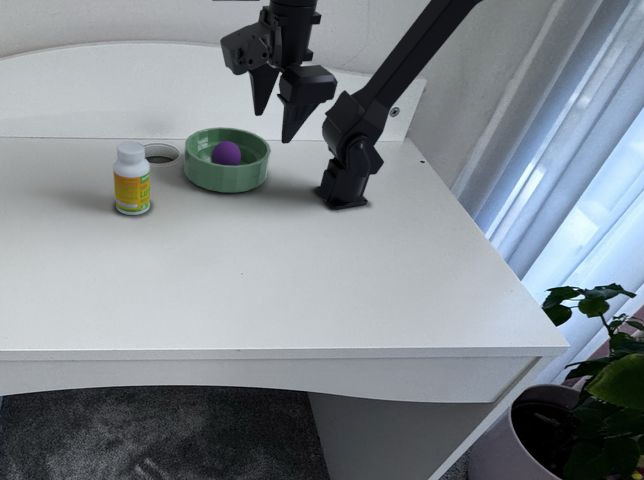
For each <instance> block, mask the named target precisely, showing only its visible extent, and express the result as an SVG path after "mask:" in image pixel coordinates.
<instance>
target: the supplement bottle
mask: <svg viewBox="0 0 644 480" xmlns="http://www.w3.org/2000/svg"><path fill="white" fill-rule="evenodd" d="M116 156H117V158H116V159H115V160H114V162H113V183H114V185H113V186H114V199H115V200H114V201H115V202H114V203H115V207H116V209H117V211H118V212H120V213H122V214H124V215H127V216H138V215H142V214H144V213H147V212H148V210H149V209H150V207H151V167H150V163H149V161H148V159H147V158H145V157H146V147H145V145H144V144H143V143H141V142H139V141H134V140H126V141H123V142H120V143H118V144H117V146H116Z"/></svg>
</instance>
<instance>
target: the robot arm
mask: <svg viewBox="0 0 644 480" xmlns="http://www.w3.org/2000/svg"><path fill="white" fill-rule="evenodd" d="M211 1H212V2H260V1H261V0H211ZM318 1H319V0H269V4H268V5H262V8H261V9H260V10H259V15H258V20H257V22H254V23H252V24H248V25H245V26H243V27H241V28H239V29H237V30H235V31H232V32H230V33H229V34H227V35H225V36H222V37H221V39H220V40H219V43H220V47H221V52H222V57H223V63H224V66H225V67H226V68H228V69H229V70H230V71H231V73H232V74H233V75H234V76H242V75H245V74H246V73H248V75H249V82H250V89H251V96H252V97H251V98H252V104H253V112H254V115H255V116H256V117H262V116H263V115H264V112H265V110H266V109H267V108H266V107H267V105H268V103H269V100H270V98H271V96H272V93H273V91H274V88H275V85H276V83H277V80H278V78H279V80H278V89H279V90H278V91H279V93H276V98H278V99H279V101H280V102H281V104H282V105H283V111H282V124H281V140H280V142H281V144H283V145H285V144H290V142H291V141H292V140H293V138H294V137H295V136H296V134H298V132H299V130H300V129H301V128H302V126H303V125H304V124H305V123H306V121H307V120H308V119H309V118H310V116H311V115H312V114H313V113H314V112H315V111H316V110H317V108H318V107H319V106H320V105H321V104H325V103H327V101H333V100H334V98H335V95H336V92H337V87H338V83H339V81H338V80H337V78H336V76H335V74H333V73H332V72H330V71H329V70H328V69H326V68H325V67H324V66H322V65H321V64H313V65H303V63H305V62H312V61H313V58H314V53H315V52H314V51H313V50H311V49H310V48H309V44H310V41H311V35H312V30H313V26H315V25H321V20H322V16H323V15H322V14H321V13H319V12H318V11H316V10H317V5H318ZM483 1H484V0H430V1H428V3H427V5H426V6H425V7H424V8H423V10H422V11H421V12H420V14H419V15H418V16H417V18H416V19H415V20H414V22H413V23H412V25H411V26H409V28H408V29H407V31H406V32H405V33H404V35H403V36H402V37H401V39H399V41H398V43H397V44H396V45H395V46H394V47H393V49H392V50H391V52H390V53H389V54H387V56H386V58H385V59H384V60H383V62H382V63H381V64H380V65H379V67H378V68H377V69H376V71H375V72H374V74H373V75H371V77H370V79H369V80H368V81H367V82H366V84H365V85H364V86H363V87H361V88H360V89H358V90H356V91H355V92H354V93H352V94H350V93H349V92H348V91H347V90H346V89H345V90H342V92H341V93H340V94H339V95H338V97H337V99H336V101H335V102H334V103H333V105H332V106H331V107H330V108H329V109H328V110H326V111H325V112H324V115H325V119H324V121H323V122H322V124H321V136H322V139H323V141H324V142H325V143H326V144H327V150H328V151H329V152H330V153H331V154H332V156H333V157H332V158H329V160H328V162H327V167H326V169H324V171H323V174H322V177H321V181H320V184H319V186H315V189H314V191H315V192H316V193H317V194H318V195H319V196H320V197H321V198H322V199H323V201H325V202H326V203H327V204H328V205H329V207H331V209H333V210H340V209H341V210H342V209H346V208H352V207H358V206H365V205H368V203H369V200H368V199H367V198H366V197H365V196H364V194H365V191H366V188H367V185H368V182H369V179H370V176H374V175H377V174H378V173H379V171H380V169H382V167H383V165H384V164H385V161H384V159H383V158H382V156H381V155H380V153H379V152H378V150H377V149H376V147H375V146H376V144H377V142H378V141H379V139H380V137H382V135H383V133H384V131H385V127H386V123H387V121H388V117H389V115H390V111H391V109H392V108H393V106H394V105H395V104H396V103H397V101H398V100H399V99H400V98H401V96H402V95H403V94H404V93H405V92H406V91H407V89H408V88H409V87H410V86H411V85H412V83H413V82H414V81H415V79H417V77H418V76H419V75H420V73H421V72H422V71H423V70H424V68H425V67H426V66H427V65H428V64H429V63H430V61H431V60H432V59H433V58H434V56H435V55H436V54H437V53H438V52H439V50H440V49H441V48H442V47H443V46H444V44H445V43H446V42H447V41H448V39H450V37H451V36H452V35H453V33H454V32H455V31H456V30H457V29H458V27H459V26H460V25H461V24H462V22H463V21H464V20H465V19H466V18H467V17H468V15H469V14H470V13H471V11H473V9H474V8H475V7H476V6H477V5H479V4H480V3H481V2H483Z"/></svg>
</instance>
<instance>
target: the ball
mask: <svg viewBox="0 0 644 480" xmlns="http://www.w3.org/2000/svg"><path fill="white" fill-rule="evenodd" d="M211 160H212V163H215V164H220V165H230V166H238V165H239V163H240V160H241V153H240V150H239V148H238V146H237V145H236V144H234V143H233V142H230V141H223V142H220V143H219V144H217V145H216V146H215V148H214V149H213V151H212V155H211Z"/></svg>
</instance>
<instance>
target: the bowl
mask: <svg viewBox="0 0 644 480" xmlns="http://www.w3.org/2000/svg"><path fill="white" fill-rule="evenodd" d="M223 141H230V142H233V143H234V144H236V145H237V146H238V148H239V150H240V153H241V160H240V163H239V165H238V166H230V165H220V164H215V163H212V160H211V155H212V151H213V149H214V148H215V146H216V145H217V144H219V143H220V142H223ZM271 153H272V150H271V146H270V144H269V143H268V141H266V139H264V138H263V137H262V136H260V135H258V134H256V133H254V132H251V131H249V130H245V129H241V128H235V127H222V126H221V127H220V126H219V127H218V126H217V127H209V128H204V129H201V130H197V131H195V132H193V133H192V134H190V135H189V136H188V137H187V139H186V140H185V142H184V158H183V159H184V160H183V173H184V174H185V176H186V178H187V179H188V181H190V182H192V183H193V184H195V185H196V186H198V187H201V188H203V189H206V190H208V191H213V192H219V193H241V192H247V191H251V190H253V189H256V188H258V187H259V186H260V185H262V184H263V183H264V182H265V180H266V178H267V175H268V170H269V164H270V159H271Z"/></svg>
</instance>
